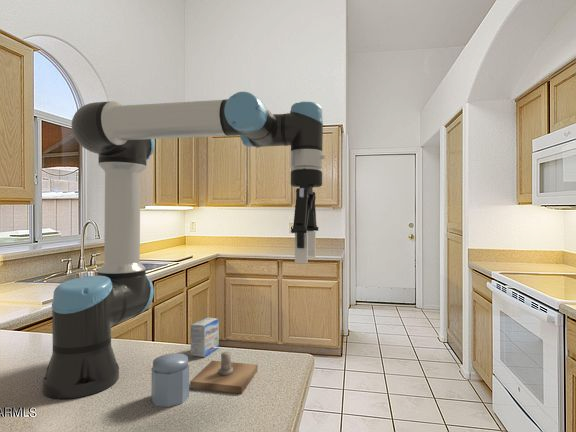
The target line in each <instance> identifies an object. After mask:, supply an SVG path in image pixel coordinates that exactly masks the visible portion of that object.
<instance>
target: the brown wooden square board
mask: <svg viewBox="0 0 576 432" xmlns="http://www.w3.org/2000/svg"><path fill="white" fill-rule="evenodd" d="M231 355H232V354H231V352H229V351H225V352H224V351H223V352H221V353H220V361H219V360H211V361H210V362H209V363H207V365H206V366H205V367H203V368H202V370H200V371H199V372H198V373H197V374H196V375H195V376H193V378H192V379H191V380H189V389H198V390H205V391H216V392H225V393H232V394H233V393H235V394H243V393H244V391H245V390H246V388H247V387H248V385H249V384H250V382H251V381H252V380H253V378H254V377H255V375H256V373H258V370H259V368H258V367H259V366H258V365H259V364H254V363H246V362H245V363H243V362H235V361H234V362H232V361H231V357H232V356H231Z"/></svg>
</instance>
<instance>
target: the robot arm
mask: <svg viewBox="0 0 576 432" xmlns="http://www.w3.org/2000/svg"><path fill="white" fill-rule="evenodd" d="M271 112H272V111H270V110H269V109H268V108H267V107H266V106H265V104H264V103H263V100H261V99H260V98H259V97H257V96H255V95H254V94H253V93H251V92H248V91H238V92H236V93H234V94H233V95H231V96H230V97H228V98H227V99H225V98H224V99H214V100H213V99H211V100H210V99H209V100H198V101H197V100H196V101H177V102H176V101H175V102H160V103H158V102H157V103H145V104H143V103H142V104H128V105H122V104H121V103H119V102H118V101H114V100H113V101H110V100H109V101H98V102H97V101H96V102H90V103H87V104H84V105H82V106H80V107H79V108H78V109H77V110H76V112H75V113H74V114H73V117H72V119H71V131H72V135H73V137H74V139H75V140H76V142H77V143H78V144H79V145H80V146H81V147H82V148H84V149H86V150H87V151H88V152H91V153H94V154H97V156H98V162H97V163H98V164H97V165H98V166H99V167H100V169H102V170H103V171H104V237H103V238H104V243H103V244H104V248H103V251H104V252H103V253H104V256H103V257H104V259H103V264H102V266H100V267H99V268H98V269H97V275H87V276H82V277H76V278H72V279H68V280H67V281H64V282H61V283H60V284H59V285H57V286H56V287H55V288H54V291H53V296H52V297H53V298H52V299H53V300H52V303H51V311H52V312H51V313H52V314H51V315H52V323H51V324H52V352H51V356H50V359H49V363H48V365H47V368H46V372H45V375H44V377H43V379H42V393H43V395H44V396H46V397H48V398H52V399H60V400H61V399H64V400H65V399H67V400H68V399H75V398H81V397H87V396H90V395H93V394H97V393H99V392H102V391H104V390H106V389H108V388H110V387H112V386H113V385H114V384H116V383H117V381H118V380H119V378H120V366H119V363H118V362H117V359H116V356H115V353H114V350H113V347H112V327H113V326H116V325H118V324H121V323H122V322H126V321H127V320H131V319H134V318H136V317H138V316H139V315H140V314H142V313H144V312H145V311H146V310H147V309H149V307H150V305H151V303H152V302H153V299H154V295H155V294H154V293H155V292H154V291H155V290H154V285H153V282H152V280H150V277H149V276H148V275H147V273H146V272H147V271H146V270H147V269H146V268H147V267H146V266H144V265H143V264H142V263H141V261H140V260H141V259H140V258H141V257H140V256H141V255H140V254H141V249H140V248H141V244H140V243H141V173H142V172H143V171H144V170H145V169H147V161H148V160H150V157H151V156H152V155H153V153H154V150H155V145H156V144H155V143H156V142H155V141H156V140H158V139H159V140H160V139H161V140H163V139H181V138H182V139H183V138H184V139H185V138H187V139H188V138H205V137H208V138H209V137H211V138H212V137H231V136H232V137H236V136H239V137H240V140H241V142H242V144H243V146H244V147H245V146H246V148H247V147H248V148H251V147H253V148H254V147H255V148H263V147H288V146H290V161H289V162H290V163H289V164H290V169H292V170H291V171H290V186H291V187H294V188H296V189H295V193H296V194H295V195H296V196H295V205H294V206H295V207H294V215H293V216H294V217H293V226H292V228H290V229H291V230H290V232H291V234H294V263H295V264H308V263H309V262H308V258H309V257H311V258H315V257H316V251H317V249H316V239H317V237H316V234H317V231H319V226H318V224H317V213H316V200H317V199H316V198H317V197H316V192H315V191H314V190H313V188H319V187H320V188H321V186H323V171H322V168H323V160H325V159H326V156H325V155H323V134H324V133H323V132H324V131H323V130H324V129H323V128H324V127H323V126H324V124H323V123H324V122H323V109H322V106H321V105H320V104H319V103H317V102H313V101H300V102H295V103H293V104H292V105H291V107H290V111H289V112H286V113H277V114H275V113H271Z"/></svg>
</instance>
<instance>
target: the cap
mask: <svg viewBox="0 0 576 432" xmlns="http://www.w3.org/2000/svg"><path fill="white" fill-rule="evenodd" d="M188 357H189V356H187V355H186V354H184V353H166V354H163V355H160V356H157V357H155V358H154V359H153V360H152V367H151V391H150V392H151V393H150V394H151V397H150V398H151V401H152V403H153V405H154V406H155V407H164V408H170V407H174V406H178V405H181V404H184V402H185V401H186V400H187V399H188V398H189V397H190V365H189V358H188Z"/></svg>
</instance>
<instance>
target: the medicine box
mask: <svg viewBox="0 0 576 432" xmlns="http://www.w3.org/2000/svg"><path fill="white" fill-rule="evenodd" d="M219 327H220V320H219V318H216V317H214V318H213V317H205V318H203V319H201V320H198V321H197V322H195V323H193V324H191V325H190V356H193V357H197V358H198V357H199V358H206V357H208V356H209V355H211V354H212V353H213V352H215V351H217V349H219V345H220V344H219V343H220V342H219V341H220V340H219V339H220V336H219V331H220V329H219ZM214 347H218V348H214Z"/></svg>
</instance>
